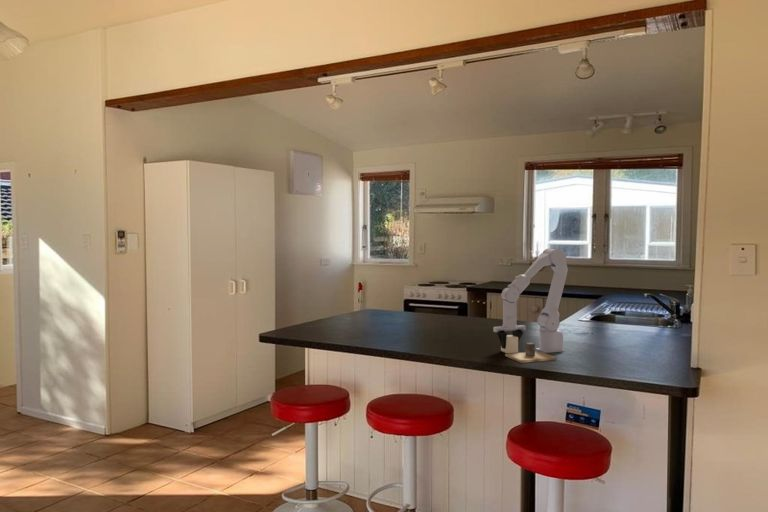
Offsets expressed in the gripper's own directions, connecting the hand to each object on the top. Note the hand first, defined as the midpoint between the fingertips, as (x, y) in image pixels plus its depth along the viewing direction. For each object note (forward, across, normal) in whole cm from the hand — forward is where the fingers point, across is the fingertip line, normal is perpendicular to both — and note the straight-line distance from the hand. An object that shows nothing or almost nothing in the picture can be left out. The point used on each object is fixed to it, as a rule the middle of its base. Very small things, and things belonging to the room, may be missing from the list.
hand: (509, 347), depth 233 cm
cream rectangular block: (+2, 0, 0) cm, 2 cm away
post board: (+2, -2, +13) cm, 13 cm away
